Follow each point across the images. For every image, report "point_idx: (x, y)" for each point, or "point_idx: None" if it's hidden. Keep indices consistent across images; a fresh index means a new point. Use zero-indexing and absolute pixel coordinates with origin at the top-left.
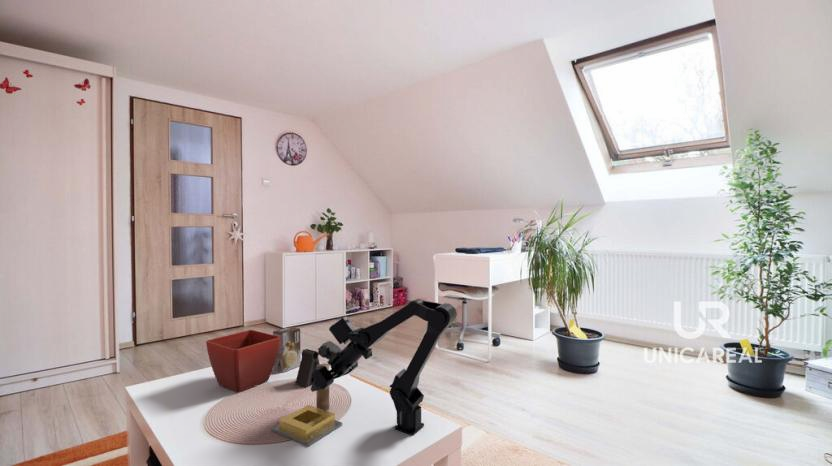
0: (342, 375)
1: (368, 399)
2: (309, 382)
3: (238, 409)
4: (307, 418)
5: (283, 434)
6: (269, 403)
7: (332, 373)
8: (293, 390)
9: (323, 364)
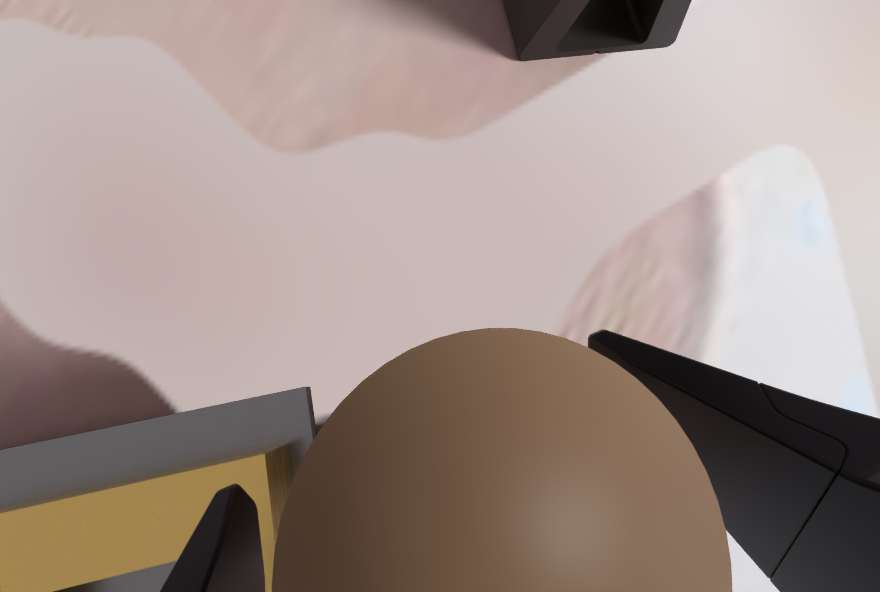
0: (772, 577)
1: None
2: (555, 36)
3: (41, 18)
4: None
5: None
6: (221, 83)
7: (674, 403)
8: (437, 36)
9: (581, 475)
